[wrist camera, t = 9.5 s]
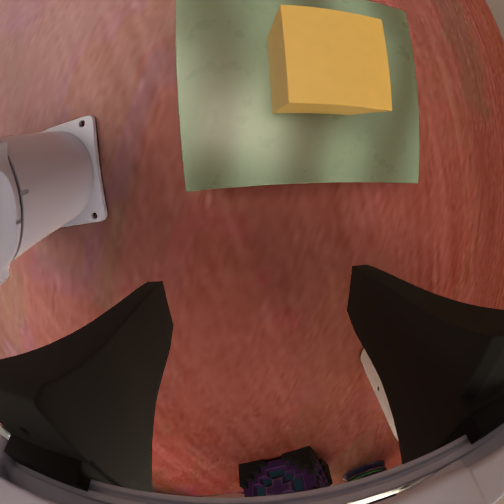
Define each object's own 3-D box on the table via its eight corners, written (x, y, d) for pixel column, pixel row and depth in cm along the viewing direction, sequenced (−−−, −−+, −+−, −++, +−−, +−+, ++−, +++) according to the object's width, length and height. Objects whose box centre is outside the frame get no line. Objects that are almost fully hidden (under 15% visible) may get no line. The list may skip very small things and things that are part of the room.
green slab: (196, 179, 19) (185, 192, 14) (186, 21, 14) (175, -6, 10) (384, 172, 19) (418, 183, 15) (375, 28, 14) (405, 11, 10)
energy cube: (268, 481, 40) (274, 531, 29) (238, 464, 35) (242, 526, 24) (327, 464, 38) (341, 516, 27) (308, 446, 34) (323, 511, 23)
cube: (271, 113, 13) (288, 103, 9) (266, 38, 11) (279, 4, 7) (351, 115, 13) (393, 111, 9) (345, 44, 12) (382, 19, 7)
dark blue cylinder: (365, 461, 40) (384, 518, 27) (392, 458, 43) (411, 508, 29) (333, 480, 44) (347, 532, 30) (362, 477, 46) (377, 524, 32)
